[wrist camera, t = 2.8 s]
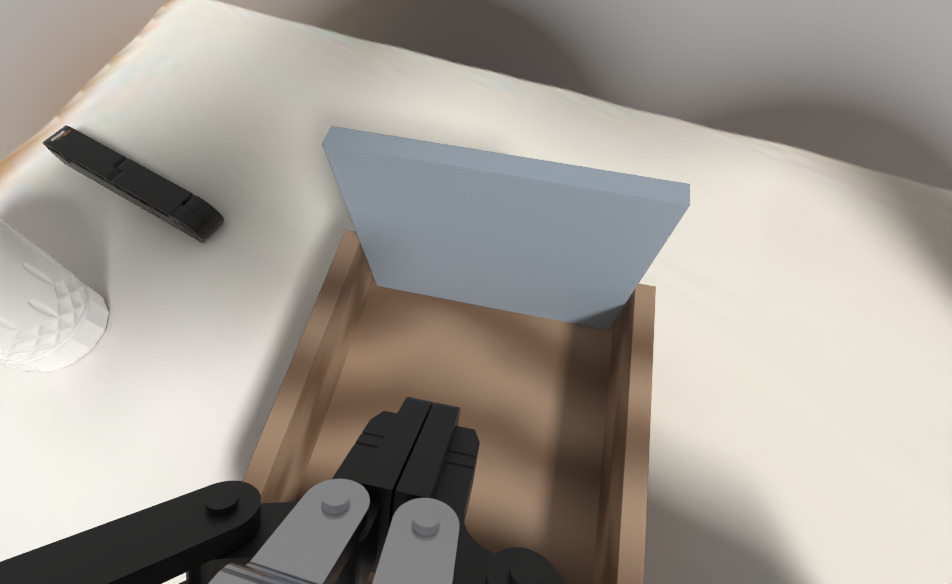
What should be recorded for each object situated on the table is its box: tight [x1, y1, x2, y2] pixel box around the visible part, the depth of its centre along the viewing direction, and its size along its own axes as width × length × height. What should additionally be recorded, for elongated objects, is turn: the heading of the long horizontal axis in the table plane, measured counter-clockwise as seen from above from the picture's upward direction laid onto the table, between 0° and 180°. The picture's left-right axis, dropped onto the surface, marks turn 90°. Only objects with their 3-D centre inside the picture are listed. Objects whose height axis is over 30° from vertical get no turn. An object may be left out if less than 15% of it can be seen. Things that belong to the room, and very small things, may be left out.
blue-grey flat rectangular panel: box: [322, 126, 690, 330], centre depth 28 cm, size 2×17×14 cm, turn 78°
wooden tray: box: [242, 230, 656, 584], centre depth 28 cm, size 20×20×6 cm
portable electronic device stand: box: [43, 126, 224, 243], centre depth 39 cm, size 18×3×3 cm, turn 60°
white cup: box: [0, 219, 109, 372], centre depth 30 cm, size 8×8×10 cm
